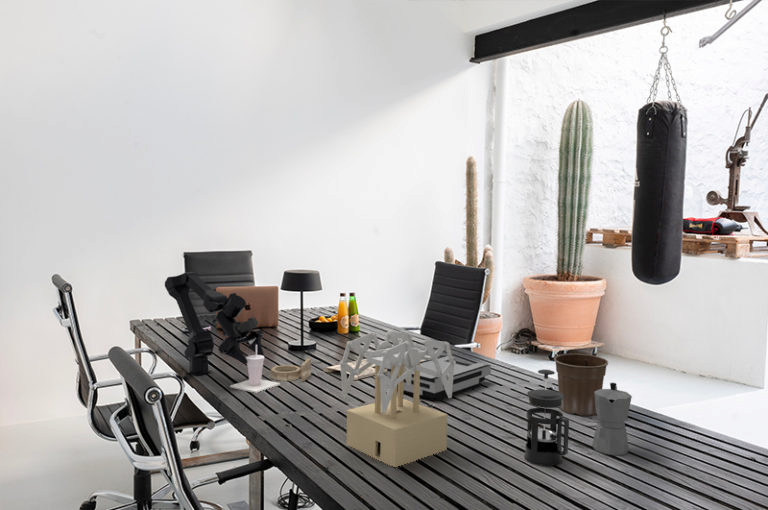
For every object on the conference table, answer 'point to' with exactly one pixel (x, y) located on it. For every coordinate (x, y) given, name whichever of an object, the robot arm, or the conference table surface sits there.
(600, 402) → the coffeepot
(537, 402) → the french press
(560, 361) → the plant pot
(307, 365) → the segmented octagon frame
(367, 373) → the newspaper
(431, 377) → the game console
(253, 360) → the smoothie
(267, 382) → the coaster
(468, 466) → the conference table surface
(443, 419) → the kinetic sculpture
